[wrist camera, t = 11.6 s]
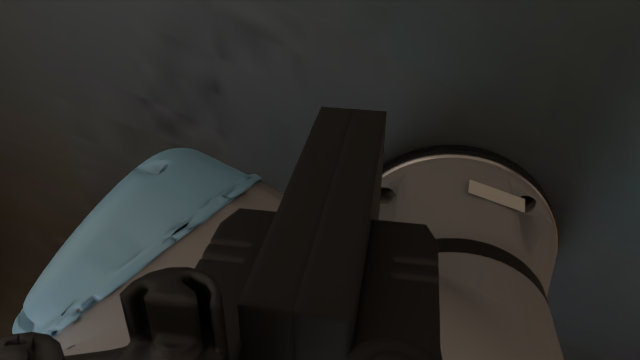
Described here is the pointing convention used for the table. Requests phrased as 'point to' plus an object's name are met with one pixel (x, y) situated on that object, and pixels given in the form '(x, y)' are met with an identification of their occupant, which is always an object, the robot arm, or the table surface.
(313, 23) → the table surface
